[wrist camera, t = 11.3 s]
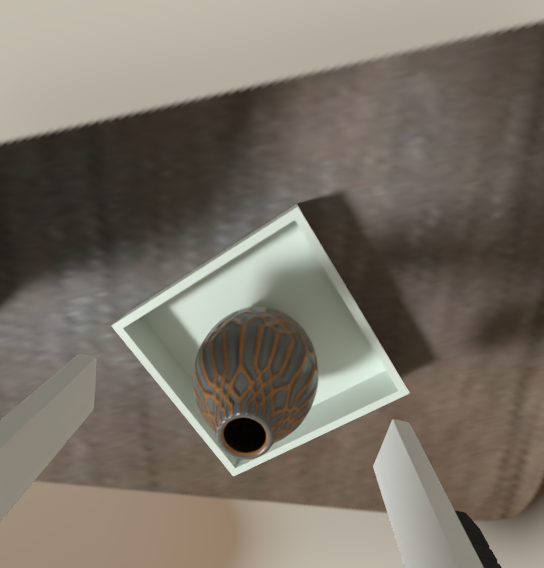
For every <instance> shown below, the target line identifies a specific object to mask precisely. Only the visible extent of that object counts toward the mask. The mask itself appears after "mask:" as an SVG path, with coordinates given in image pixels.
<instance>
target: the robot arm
mask: <svg viewBox="0 0 544 568" xmlns="http://www.w3.org/2000/svg"><path fill="white" fill-rule="evenodd" d="M96 366H97V357H95V356H91V355H86V354H81V353H79V354H78V355H76V356H75V357H74V358H73V359H72V360H71V361H69V362H68V363H67V364H66V365H65V366H63V367H62V368H61V369H60V370H59V371H58V372H56V373H55V374H54V375H53V376H52V377H50V378H49V379H48V380H47V381H46V382H45V383H43V384H42V385H41V386H40V387H39V388H37V389H36V390H35V391H34V392H33V393H32V394H30V395H29V396H28V397H27V398H26V399H24V400H23V401H22V402H21V403H20V404H19V405H17V406H16V407H15V408H14V409H13V410H11V411H10V412H9V413H8V414H7V415H6V416H4V417H3V418H2V419H0V522H1V520H2V519H3V518H4V517H5V515H6V514H7V513H8V512H9V511H10V509H11V508H12V507H13V506H14V505H15V503H16V502H17V501H18V500H19V498H20V497H21V496H22V495H23V494H24V493H25V491H26V490H27V489H28V488H29V487H30V485H31V484H32V483H33V482H34V481H35V479H36V478H37V477H38V476H39V475H40V473H41V472H42V471H43V470H44V469H45V467H46V466H47V465H48V464H49V463H50V461H51V460H52V459H53V458H54V456H55V455H56V454H57V453H58V452H59V450H60V449H61V448H62V447H63V446H64V444H65V443H66V442H67V441H68V440H69V438H70V437H71V436H72V435H73V434H74V432H75V431H76V430H77V429H78V428H79V426H80V425H81V424H82V423H83V422H84V420H85V419H86V418H87V417H88V416H89V414H90V413H91V412H92V411H93V410H94V398H95V382H96ZM373 468H374V471H375V474H376V477H377V481H378V484H379V487H380V490H381V494H382V497H383V500H384V503H385V506H386V510H387V513H388V516H389V519H390V522H391V526H392V529H393V532H394V535H395V539H396V542H397V545H398V548H399V552H400V555H401V558H402V561H403V564H404V568H501V566H500V565H499V564H498V563H497V559H496V557H495V556H494V554H493V552H492V550H490V549H489V545H488V543H487V541H486V540H485V538H484V536H483V534H482V532H481V530H480V529H479V528H478V526H477V525H476V524H475V523H474V522H473V521H472V519H471V518H470V517H469V516H468V515H467V514H466V513H464V512H459V511H454V509H453V507H452V505H451V503H450V501H449V499H448V497H447V495H446V493H445V491H444V489H443V487H442V485H441V484H440V482H439V480H438V478H437V476H436V474H435V472H434V470H433V468H432V466H431V464H430V462H429V460H428V458H427V456H426V454H425V452H424V450H423V449H422V447H421V445H420V443H419V441H418V439H417V437H416V435H415V433H414V431H413V429H412V427H411V425H410V423H408V422H404V421H399V420H394V419H392V422H391V424H390V426H389V429H388V431H387V434H386V436H385V439H384V441H383V444H382V446H381V449H380V451H379V453H378V456H377V458H376V461H375V463H374V466H373Z"/></svg>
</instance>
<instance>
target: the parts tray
mask: <svg viewBox="0 0 544 568" xmlns="http://www.w3.org/2000/svg"><path fill="white" fill-rule="evenodd" d="M248 307H269V308H273V309H276V310H279V311H281V312H284V313H285V314H287V315H289V316H290V317H292V318H293V319H294V320H295V321H297V322H298V323H299V324H300V325H301V326H302V328H303V329H304V330H305V332H306V333H307V335H308V336H309V338H310V340H311V342H312V344H313V347H314V350H315V353H316V357H317V362H318V371H319V379H318V387H317V392H316V396H315V399H314V402H313V404H312V407H311V409H310V411H309V413H308V415H307V416H306V418H305V419H304V421H303V422H302V423H301V424H300V426H299V427H298V428H297V429H296V430H295V431H293V432H292V433H291V434H290V435H288V436H287V437H285V438H283V439H282V440H280V441H278V442H276V443H274V444H273V445H272V446H271V448H270V449H269V450H268V451H267V452H266V453H265V454H264V455H262V456H260V457H258V458H255V459H239V458H235V457H233V456H231V455H229V454H228V453H226V452H225V451H224V450H223V449H222V448H221V446H220V445H219V443H218V441H217V438H216V434H215V432H214V431H213V430H212V429H211V428H210V426H209V425H208V424H207V423H206V421H205V420H204V418H203V417H202V415H201V413H200V411H199V409H198V407H197V404H196V400H195V396H194V390H193V371H194V364H195V360H196V356H197V353H198V351H199V348H200V346H201V344H202V342H203V341H204V339H205V338H206V336H207V334H208V333H209V332H210V331H211V329H212V328H213V327H214V326H215V325H216V324H217V323H218V322H219V321H220V320H222V319H223V318H224V317H226V316H228V315H229V314H231V313H233V312H235V311H238V310H241V309H244V308H248ZM112 327H113V329H114V330H115V331H116V332H117V333H118V335H119V336H120V337H121V338H122V340H123V341H124V342H125V343H126V345H127V346H128V347H129V348H130V349H131V351H132V352H133V353H134V354H135V356H136V357H137V358H138V359H139V361H140V362H141V363H142V364H143V366H144V367H145V368H146V369H147V370H148V372H149V373H150V374H151V375H152V377H153V378H154V379H155V380H156V382H157V383H158V384H159V385H160V386H161V388H162V389H163V390H164V391H165V393H166V394H167V395H168V396H169V398H170V399H171V400H172V401H173V403H174V404H175V405H176V406H177V407H178V409H179V410H180V411H181V412H182V414H183V415H184V416H185V417H186V419H187V420H188V421H189V422H190V424H191V425H192V426H193V427H194V428H195V430H196V431H197V432H198V433H199V435H200V436H201V437H202V438H203V440H204V441H205V442H206V443H207V444H208V446H209V447H210V448H211V449H212V451H213V452H214V453H215V454H216V456H217V457H218V458H219V459H220V461H221V462H222V463H223V464H224V465H225V467H226V468H227V469H228V470H229V472H230V473H231V474H232V475H233V476H235V475H237V474H239V473H242V472H244V471H246V470H248V469H250V468H252V467H254V466H256V465H258V464H261V463H263V462H265V461H267V460H269V459H271V458H273V457H275V456H278V455H280V454H282V453H284V452H286V451H288V450H290V449H292V448H295V447H297V446H299V445H301V444H303V443H305V442H307V441H309V440H312V439H314V438H316V437H318V436H320V435H322V434H324V433H326V432H329V431H331V430H333V429H335V428H337V427H339V426H341V425H343V424H346V423H348V422H350V421H352V420H354V419H356V418H358V417H360V416H363V415H365V414H367V413H369V412H371V411H373V410H375V409H377V408H380V407H382V406H384V405H386V404H388V403H390V402H392V401H394V400H396V399H399V398H401V397H403V396H405V395H407V394H409V391H408V389H407V388H406V386H405V384H404V382H403V381H402V379H401V377H400V375H399V374H398V372H397V370H396V369H395V367H394V365H393V363H392V362H391V360H390V358H389V357H388V355H387V353H386V352H385V350H384V348H383V347H382V345H381V343H380V342H379V340H378V338H377V337H376V335H375V333H374V332H373V330H372V328H371V327H370V325H369V323H368V322H367V320H366V318H365V317H364V315H363V313H362V312H361V310H360V308H359V307H358V305H357V303H356V302H355V300H354V298H353V297H352V295H351V293H350V292H349V290H348V288H347V287H346V285H345V283H344V282H343V280H342V278H341V277H340V275H339V273H338V272H337V270H336V268H335V267H334V265H333V263H332V262H331V260H330V258H329V257H328V255H327V253H326V252H325V250H324V248H323V246H322V245H321V243H320V241H319V240H318V238H317V236H316V235H315V233H314V231H313V230H312V228H311V226H310V225H309V223H308V221H307V220H306V218H305V216H304V215H303V213H302V211H301V210H300V208H299V206H298V205H297V204H295V205H294V206H292V207H291V208H289V209H288V210H286V211H285V212H283V213H281V214H280V215H278V216H277V217H275V218H274V219H272V220H271V221H269V222H267V223H266V224H264V225H263V226H261V227H260V228H258V229H256V230H255V231H253V232H252V233H250V234H249V235H247V236H246V237H244V238H242V239H241V240H239V241H238V242H236V243H235V244H233V245H232V246H230V247H228V248H227V249H225V250H224V251H222V252H221V253H219V254H218V255H216V256H214V257H213V258H211V259H210V260H208V261H207V262H205V263H203V264H202V265H200V266H199V267H197V268H196V269H194V270H193V271H191V272H189V273H188V274H186V275H185V276H183V277H182V278H180V279H179V280H177V281H175V282H174V283H172V284H171V285H169V286H168V287H166V288H165V289H163V290H161V291H160V292H158V293H157V294H155V295H154V296H152V297H150V298H149V299H147V300H146V301H144V302H143V303H141V304H140V305H138V306H136V307H135V308H133V309H132V310H131V311H130V312H128V313H127V314H126V315H124V316H123V317H122V318H121V319H119V320H118V321H117V322H115V323H114V324H113V325H112Z"/></svg>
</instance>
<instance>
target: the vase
mask: <svg viewBox="0 0 544 568" xmlns="http://www.w3.org/2000/svg"><path fill="white" fill-rule="evenodd" d="M318 379H319V371H318V362H317V357H316V353H315V350H314V347H313V344H312V342H311V340H310V338H309V336H308V335H307V333H306V332H305V330H304V329H303V328H302V326H301V325H300V324H299V323H298V322H297V321H295V320H294V319H293V318H292V317H290V316H289V315H287V314H285V313H284V312H281V311H279V310H276V309H273V308H269V307H248V308H244V309H241V310H238V311H235V312H233V313H231V314H229V315H228V316H226V317H224V318H223V319H222V320H220V321H219V322H218V323H217V324H216V325H215V326H214V327H213V328H212V329H211V331H210V332H209V333H208V334H207V336H206V338H205V339H204V341H203V342H202V344H201V346H200V348H199V351H198V353H197V356H196V360H195V364H194V371H193V390H194V396H195V400H196V404H197V407H198V409H199V411H200V413H201V415H202V417H203V418H204V420H205V421H206V423H207V424H208V425H209V426H210V428H211V429H212V430H213V431H214V432H215V434H216V438H217V441H218V443H219V445H220V446H221V448H222V449H223V450H224V451H225V452H226V453H228V454H229V455H231V456H233V457H235V458H239V459H255V458H258V457H260V456H262V455H264V454H265V453H266V452H267V451H268V450H269V449H270V448H271V446H272V445H273V444H274V443H276V442H278V441H280V440H282V439H283V438H285V437H287V436H288V435H290V434H291V433H292V432H293V431H295V430H296V429H297V428H298V427H299V426H300V424H301V423H302V422H303V421H304V419H305V418H306V416H307V415H308V413H309V411H310V409H311V407H312V404H313V402H314V399H315V396H316V392H317V387H318Z"/></svg>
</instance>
